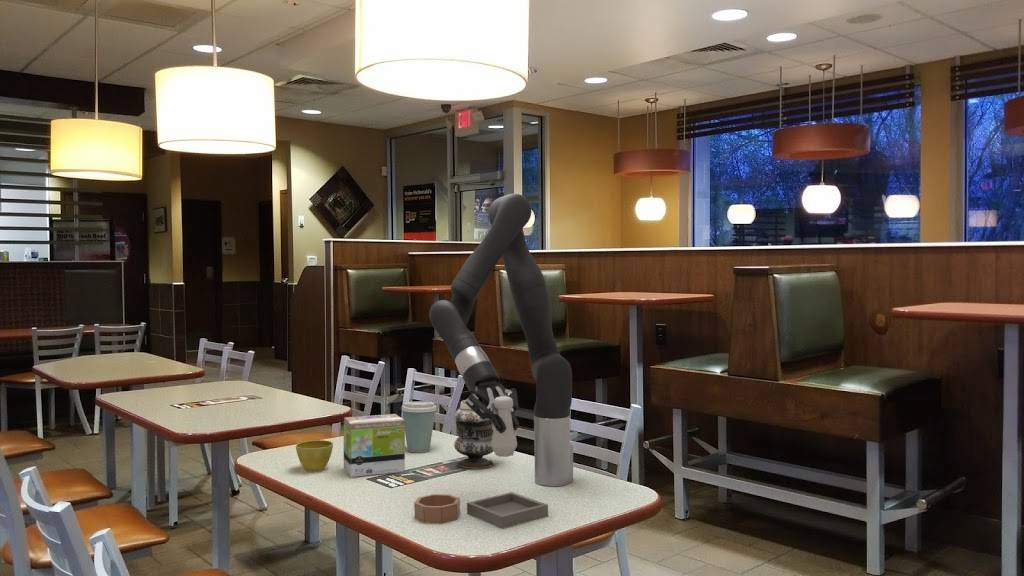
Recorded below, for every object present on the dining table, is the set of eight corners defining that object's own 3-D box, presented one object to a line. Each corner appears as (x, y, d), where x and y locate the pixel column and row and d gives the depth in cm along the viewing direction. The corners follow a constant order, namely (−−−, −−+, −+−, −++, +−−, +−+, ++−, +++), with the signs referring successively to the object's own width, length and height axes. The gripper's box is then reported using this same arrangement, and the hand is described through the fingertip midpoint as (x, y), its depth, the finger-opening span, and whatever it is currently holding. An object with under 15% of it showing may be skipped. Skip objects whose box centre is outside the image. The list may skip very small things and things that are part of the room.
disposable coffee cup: (402, 447, 243) (401, 399, 243) (437, 445, 245) (436, 398, 244) (401, 455, 233) (400, 405, 232) (437, 454, 234) (437, 404, 234)
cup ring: (443, 506, 183) (443, 491, 183) (467, 516, 175) (467, 501, 175) (408, 515, 177) (407, 499, 177) (431, 526, 169) (430, 510, 169)
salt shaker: (514, 458, 173) (513, 399, 172) (489, 457, 174) (487, 399, 173) (519, 451, 179) (518, 395, 178) (495, 450, 180) (493, 394, 179)
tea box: (350, 478, 208) (350, 423, 208) (343, 469, 217) (342, 416, 217) (405, 472, 214) (405, 418, 214) (396, 463, 223) (395, 412, 223)
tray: (511, 502, 186) (511, 491, 186) (548, 515, 175) (547, 504, 175) (467, 513, 178) (466, 502, 177) (502, 528, 167) (502, 516, 167)
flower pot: (337, 471, 215) (336, 445, 215) (300, 476, 211) (299, 450, 211) (328, 463, 224) (328, 438, 224) (293, 467, 220) (292, 442, 220)
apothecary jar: (492, 471, 214) (491, 405, 213) (449, 469, 216) (448, 404, 215) (500, 460, 226) (500, 398, 225) (460, 458, 228) (459, 397, 227)
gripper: (457, 362, 177) (491, 424, 168) (506, 356, 186) (541, 415, 177) (445, 383, 181) (477, 444, 172) (493, 376, 190) (527, 434, 181)
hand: (509, 429), depth 174 cm, fingers closed on salt shaker, 3 cm apart
